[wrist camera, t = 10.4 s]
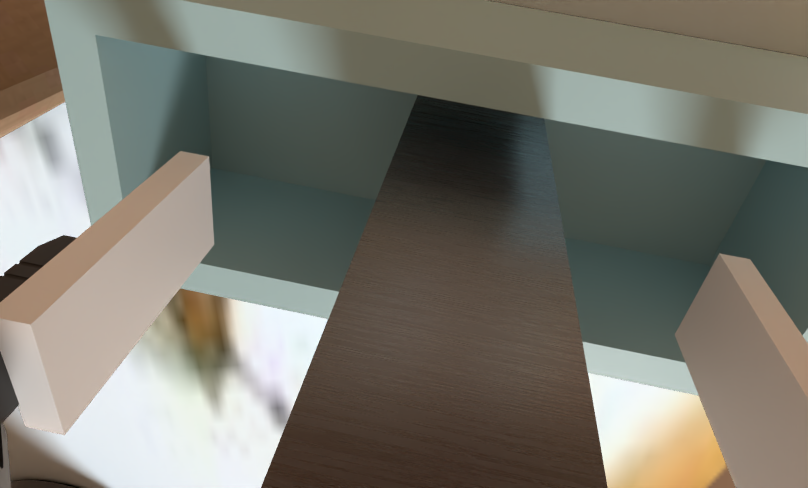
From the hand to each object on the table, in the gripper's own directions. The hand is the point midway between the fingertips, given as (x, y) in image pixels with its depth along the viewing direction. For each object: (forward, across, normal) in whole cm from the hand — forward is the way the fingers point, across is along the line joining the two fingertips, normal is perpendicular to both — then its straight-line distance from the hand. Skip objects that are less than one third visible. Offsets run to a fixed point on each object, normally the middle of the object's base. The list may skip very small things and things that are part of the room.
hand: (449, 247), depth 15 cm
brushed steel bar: (+7, 0, 0) cm, 7 cm away
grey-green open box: (+8, 0, 0) cm, 8 cm away
